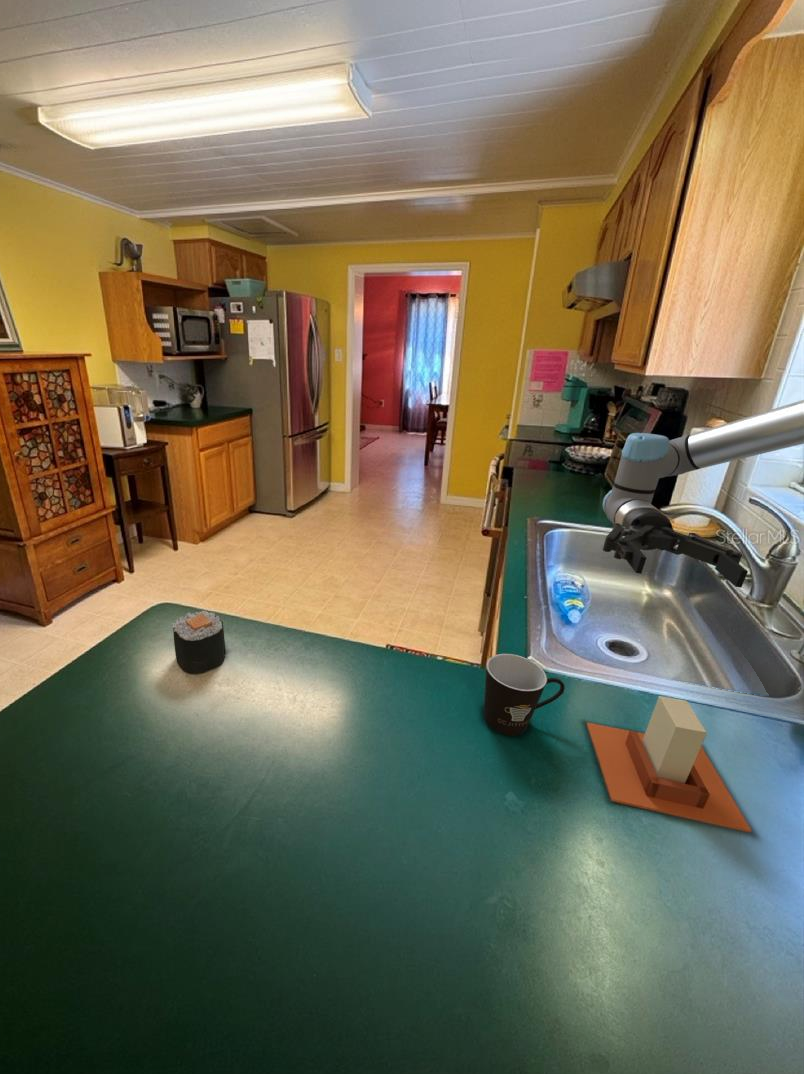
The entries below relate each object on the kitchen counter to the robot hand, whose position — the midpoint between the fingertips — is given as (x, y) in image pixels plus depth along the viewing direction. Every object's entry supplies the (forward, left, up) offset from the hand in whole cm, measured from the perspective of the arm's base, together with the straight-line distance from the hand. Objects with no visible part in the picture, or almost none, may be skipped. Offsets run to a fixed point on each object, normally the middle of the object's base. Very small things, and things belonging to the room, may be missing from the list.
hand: (690, 572), depth 70 cm
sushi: (+76, +11, -25) cm, 81 cm away
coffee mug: (+22, +12, -25) cm, 35 cm away
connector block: (+3, +16, -24) cm, 29 cm away
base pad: (+3, +16, -25) cm, 30 cm away
